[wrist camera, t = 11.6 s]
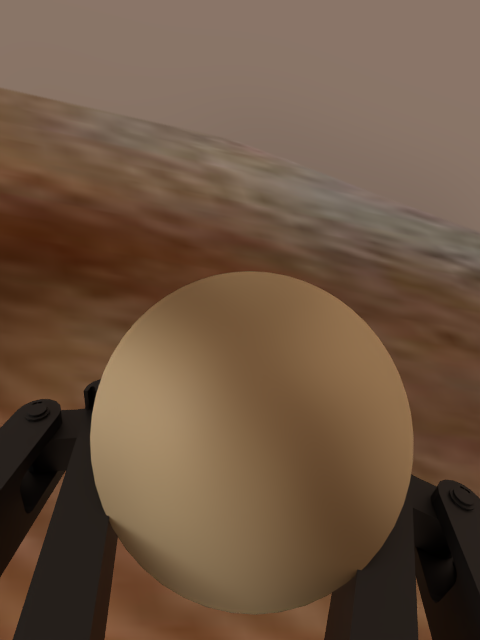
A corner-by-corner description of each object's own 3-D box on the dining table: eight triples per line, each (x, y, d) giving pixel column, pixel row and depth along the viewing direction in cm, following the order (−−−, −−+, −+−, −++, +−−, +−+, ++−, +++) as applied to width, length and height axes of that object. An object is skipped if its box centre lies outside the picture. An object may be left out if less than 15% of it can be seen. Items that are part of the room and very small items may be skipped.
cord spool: (242, 527, 17) (257, 721, 6) (149, 421, 19) (24, 415, 8) (332, 420, 19) (475, 414, 8) (241, 332, 21) (250, 223, 10)
